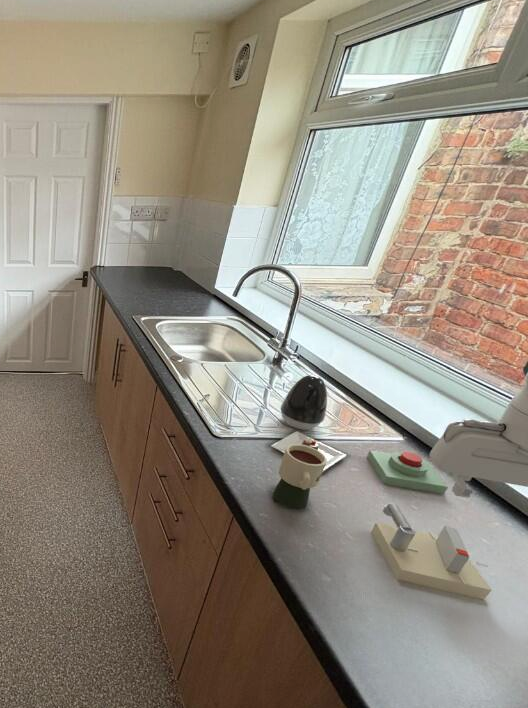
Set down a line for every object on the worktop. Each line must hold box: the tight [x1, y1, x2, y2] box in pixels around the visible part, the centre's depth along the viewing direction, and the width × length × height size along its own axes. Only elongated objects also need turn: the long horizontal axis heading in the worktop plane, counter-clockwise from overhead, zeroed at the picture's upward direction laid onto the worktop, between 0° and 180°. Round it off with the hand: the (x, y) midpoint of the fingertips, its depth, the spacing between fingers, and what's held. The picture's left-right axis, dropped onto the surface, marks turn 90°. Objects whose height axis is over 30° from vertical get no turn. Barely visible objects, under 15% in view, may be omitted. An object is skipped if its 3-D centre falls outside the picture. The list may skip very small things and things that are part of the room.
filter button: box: [399, 451, 423, 467], centre depth 95 cm, size 4×4×2 cm
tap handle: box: [436, 525, 470, 574], centre depth 72 cm, size 7×2×4 cm, turn 149°
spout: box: [382, 503, 417, 551], centre depth 77 cm, size 2×8×5 cm, turn 161°
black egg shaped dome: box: [280, 374, 328, 431], centre depth 112 cm, size 10×10×15 cm
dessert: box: [270, 430, 347, 471], centre depth 103 cm, size 12×12×5 cm
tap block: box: [371, 522, 492, 600], centre depth 74 cm, size 14×11×4 cm
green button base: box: [366, 449, 449, 495], centre depth 96 cm, size 11×10×4 cm
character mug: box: [272, 444, 327, 510], centre depth 87 cm, size 11×7×13 cm, turn 157°
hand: (497, 501), depth 66 cm, fingers open, 8 cm apart
